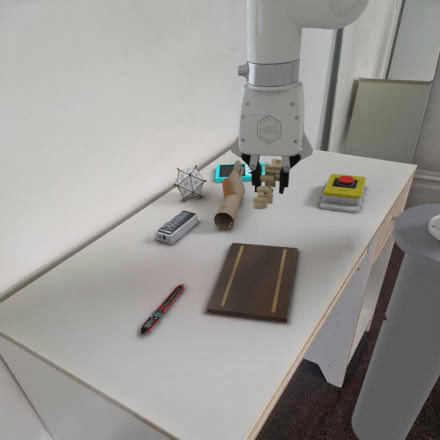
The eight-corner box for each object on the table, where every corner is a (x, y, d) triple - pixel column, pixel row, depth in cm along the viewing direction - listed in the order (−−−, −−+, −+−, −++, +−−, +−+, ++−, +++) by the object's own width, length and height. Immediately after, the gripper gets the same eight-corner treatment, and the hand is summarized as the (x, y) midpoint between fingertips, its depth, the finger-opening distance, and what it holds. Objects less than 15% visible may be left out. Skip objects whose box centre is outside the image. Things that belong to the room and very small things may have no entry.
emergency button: (368, 169, 95) (361, 196, 85) (365, 186, 98) (358, 213, 88) (331, 166, 98) (321, 191, 88) (329, 182, 101) (318, 208, 91)
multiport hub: (199, 221, 89) (198, 213, 88) (171, 244, 83) (170, 236, 81) (184, 218, 91) (183, 209, 90) (156, 240, 85) (154, 231, 83)
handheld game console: (271, 179, 105) (271, 175, 104) (215, 182, 106) (214, 177, 105) (268, 165, 112) (269, 161, 111) (216, 168, 113) (216, 163, 112)
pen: (187, 286, 71) (187, 283, 71) (146, 336, 62) (145, 334, 61) (179, 284, 72) (178, 281, 71) (137, 333, 63) (136, 330, 62)
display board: (297, 251, 78) (297, 247, 77) (286, 322, 62) (287, 318, 62) (232, 246, 81) (232, 242, 80) (207, 312, 66) (206, 308, 65)
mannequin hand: (209, 235, 89) (236, 182, 105) (237, 232, 85) (261, 177, 101) (198, 210, 84) (228, 158, 100) (227, 206, 81) (253, 153, 97)
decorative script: (267, 169, 73) (268, 152, 71) (287, 170, 73) (288, 153, 70) (250, 212, 61) (250, 193, 59) (273, 214, 60) (273, 195, 58)
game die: (197, 211, 101) (198, 194, 91) (168, 199, 101) (167, 180, 91) (209, 184, 103) (212, 164, 93) (181, 172, 103) (181, 151, 93)
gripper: (212, 80, 54) (220, 196, 66) (330, 79, 50) (315, 202, 62) (224, 69, 59) (230, 178, 71) (332, 67, 55) (318, 183, 67)
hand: (270, 188), depth 67 cm, fingers closed on decorative script, 3 cm apart
